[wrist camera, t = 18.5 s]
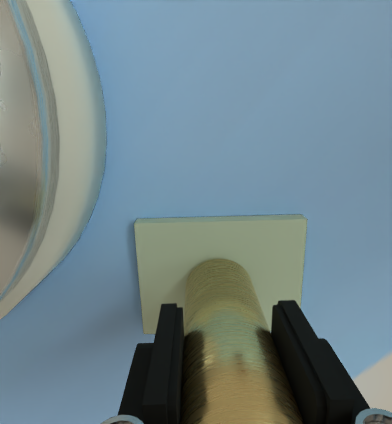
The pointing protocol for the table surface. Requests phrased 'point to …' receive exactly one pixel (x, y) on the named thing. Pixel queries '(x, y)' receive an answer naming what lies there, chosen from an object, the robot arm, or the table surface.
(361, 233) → the table surface
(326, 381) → the robot arm
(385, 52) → the table surface
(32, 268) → the chuck housing
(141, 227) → the mat
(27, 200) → the grey round shallow disc
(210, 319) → the brass rounded cylinder
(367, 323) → the table surface
